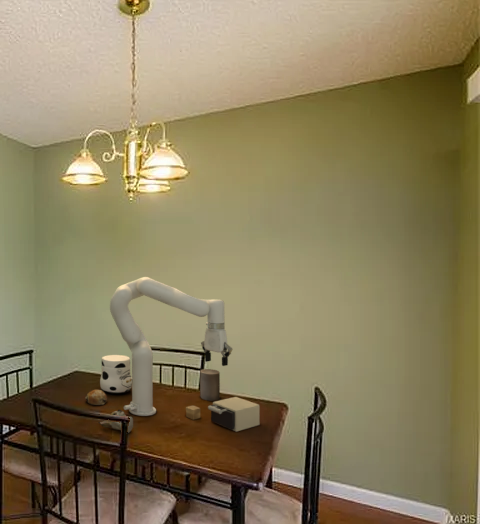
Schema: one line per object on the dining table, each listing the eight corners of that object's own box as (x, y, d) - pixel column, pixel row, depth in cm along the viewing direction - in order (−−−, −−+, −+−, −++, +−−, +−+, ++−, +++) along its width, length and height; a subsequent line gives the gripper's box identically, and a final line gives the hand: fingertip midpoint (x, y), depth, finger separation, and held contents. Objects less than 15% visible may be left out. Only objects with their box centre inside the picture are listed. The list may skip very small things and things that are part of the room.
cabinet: (236, 431, 176) (236, 410, 176) (212, 421, 187) (212, 402, 186) (259, 424, 183) (259, 404, 183) (235, 415, 194) (235, 396, 194)
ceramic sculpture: (122, 416, 169) (96, 408, 180) (123, 438, 169) (97, 429, 180) (140, 410, 176) (113, 403, 188) (141, 431, 176) (114, 423, 187)
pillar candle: (223, 397, 219) (223, 368, 219) (214, 402, 212) (214, 372, 212) (205, 393, 226) (205, 365, 225) (196, 398, 218) (196, 369, 218)
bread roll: (96, 413, 207) (102, 400, 205) (80, 401, 212) (86, 387, 210) (106, 407, 215) (112, 394, 213) (90, 395, 220) (96, 383, 218)
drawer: (224, 432, 173) (224, 412, 173) (203, 422, 183) (203, 403, 183) (254, 423, 182) (254, 404, 182) (232, 415, 192) (232, 397, 192)
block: (193, 419, 189) (193, 409, 189) (186, 416, 193) (185, 407, 193) (200, 417, 191) (200, 408, 191) (193, 414, 195) (193, 405, 195)
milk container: (133, 396, 222) (133, 361, 222) (100, 396, 222) (100, 361, 222) (130, 386, 239) (130, 354, 239) (99, 386, 240) (99, 354, 240)
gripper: (196, 324, 202) (196, 360, 202) (225, 329, 187) (226, 368, 187) (207, 323, 205) (207, 358, 206) (237, 328, 191) (237, 366, 191)
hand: (216, 363), depth 196 cm, fingers open, 9 cm apart
